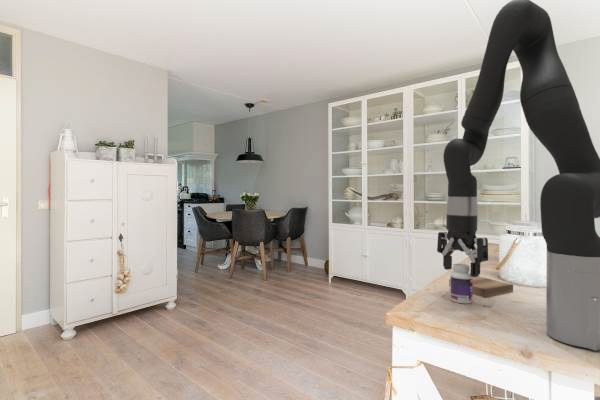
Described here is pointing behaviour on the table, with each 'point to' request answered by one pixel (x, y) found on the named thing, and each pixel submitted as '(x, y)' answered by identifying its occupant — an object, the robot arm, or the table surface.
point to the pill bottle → (461, 284)
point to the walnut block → (489, 287)
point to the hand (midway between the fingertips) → (460, 272)
